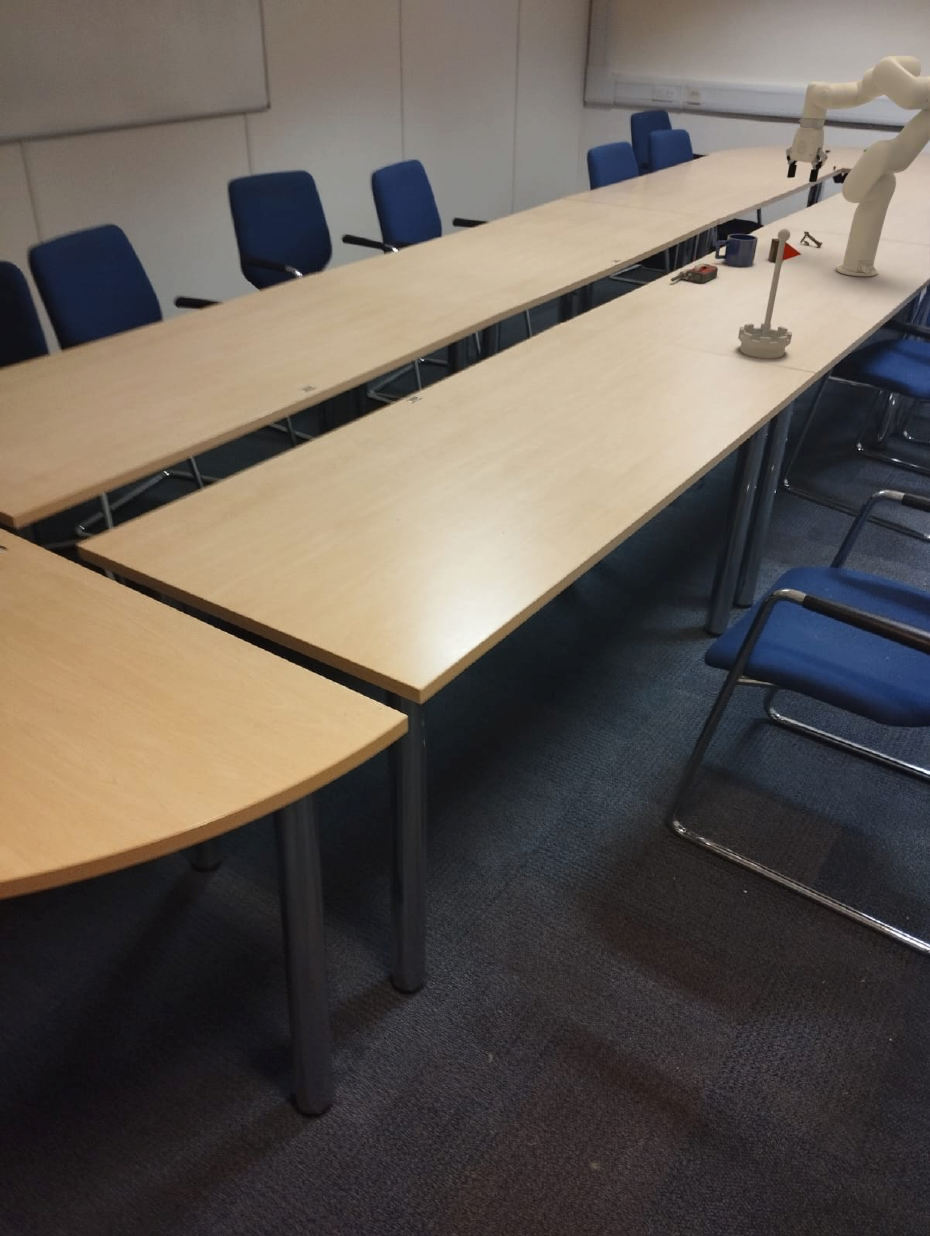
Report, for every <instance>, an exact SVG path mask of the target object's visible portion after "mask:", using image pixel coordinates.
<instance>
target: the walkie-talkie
mask: <svg viewBox="0 0 930 1236" xmlns="http://www.w3.org/2000/svg"><path fill="white" fill-rule="evenodd" d="M718 271H719V268H718V267H717V266H716V265H710V264H709V263H704V262H703V263H698V264H697V265H696V264H695V266H694V267H693V268H687V269H686V268H685V269H683V270H681V271H679V274H678V275H676V276H674V277H672V278H670V281H671V282H675V281H677V280H679V279H683V280H685V281H687V282H694V283H699V284H705V283H706V282H708V281H710V280H712V279H714V278H716V277H718Z"/></svg>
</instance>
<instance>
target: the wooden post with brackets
mask: <svg viewBox="0 0 930 1236" xmlns="http://www.w3.org/2000/svg"><path fill="white" fill-rule="evenodd" d="M803 234H804V235H803V237H802V238H801V239H800V241H799V242H800V243H801V244H802V243H803V244H804V245H806V246H810V242H808V240H806V239H809V240H810V241H811V242H813V243H814V244H815V245H816V247H817V249H819V248H821V246H822V245H823V242H822V241H821V242H820V241H818V240H817V239H816V238H814V236H812V235H811V234H810V231H806V230H804V231H803Z"/></svg>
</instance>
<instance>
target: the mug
mask: <svg viewBox="0 0 930 1236" xmlns="http://www.w3.org/2000/svg"><path fill="white" fill-rule="evenodd" d="M758 240H759V239H758V237H757V236H755V235H752V234H745V233H732V234H728V235H727V238H726V240H717V242H716V247H715V254H714V259H715V260H723V264H725V265H726V266H730V267H735V268H747V267H748V268H749V267H752V266H753V265H754V262H755V258H756V250H757V245H758ZM721 245H725V248H724V249H725V250H724V254H720V250H721Z"/></svg>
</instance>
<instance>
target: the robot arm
mask: <svg viewBox="0 0 930 1236" xmlns="http://www.w3.org/2000/svg"><path fill="white" fill-rule="evenodd" d="M921 72H922V65H921V62H920V61H919V60H918V59H917V58H916V57H914V56H913V55H889V56H885V57H883V58H882V59H880V60H879V61H878V62H877V63H876V64H875V65H874V66H873V67H870V68H868V69H867V70H866V71H865V72H864V74H863V76H862V78H861V79H858V80H855V81H851V82H850V81H849V82H828V81H821V80H820V81H818V80H817V81H814V80H813V81H810V82H808V84H807V86H806V91H805V96H804V102H803V108H802V113H801V114H802V115H801V118H799V120H798V122H799V123H800V124H799V127H797V129H796V131H795V134H794V136H793V140H792V143H791V146H790V147H788V148H786V149H785V155H786V160H787V165H788V169H787V175H786V178H787V179H792V178H795V177H796V172H797V168H798V165H797V163H798V162H802V163H810V164H811V167H812V169H810V173H809V178H808V182H809V183H816V182H817V181H818V178H819V177H818V176H819V173H820V170H821V169H822V167H823V166H824V165H825V164H826V162H827V160H828V158H829V156H828V155H827V154H826V152H825V151H823V149H824V142H825V141H824V140H825V129H824V127H825V121H826V117H827V116H826V115H827V111H828V110H829V111H830V110H845V109H846V110H849V109H852V108H856V107H859V106H862V105H865V104H868V103H870V102H872V101H874V100H875V99H876V98H879V97H882V96H886V97H887V98H888V100H890V101H891V102H893V104H895V105H896V106H898V108H901V109H903V110H905V111H906V110H907V111H908V110H909V111H915V110H920V111H919V112H918V113H917V114H915V115H914V116H913V117H912V118H911V119H909V121H908V122H906V123H905V125H904V127H903V128H902V130H900V132H899V133H898V134H897V135H896V136H895V137H893V138H891V139H883V140H882V139H881V140H878V141H875V142H873V143H872V144H871V145H869V147H867V149H866V150H865V151H864V152H863V153H862V155H861V156H860V158H859V159H858V160H857V161H856V162H855V164H854V166H853V167H852V168H851V170H849V172H848V174H847V175H846V176H845V179H844V181H843V183H842V188H841V193H842V196H843V198H844V200H845V201H846V202H847V203H851V204H857V206H856V209H855V211H854V214H853V217H852V221H851V225H850V230H849V233H848V234H849V235H848V238H847V239H848V240H847V244H846V248H845V253H844V256H843V261H842V264H839V265H837V266H836V271H837V272H838V273H840V274H843V275H848V276H853V277H873V276H876V275H877V272H878V270H877V269H876V268H875V267H874V266H875V265H874V264H875V260H876V256H877V252H878V248H879V244H880V240H881V236H882V232H883V227H884V223H885V220H886V216H887V211H888V209H889V206H890V203H891V201H892V198H893V196H894V193H895V192H896V187H897V177H896V175H895V174H897V173H902V172H904V171H906V170H907V169H908V168H909V167H910V166H911V165H912V163H913V162H914V161H915V160H916V158H917V157H918V156H919V155H920V154H921V152H922V151H923V150H924V148H925V147H926V146H927V144H928V143H929V142H930V76H929V75H927V76H920V75H921Z"/></svg>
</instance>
